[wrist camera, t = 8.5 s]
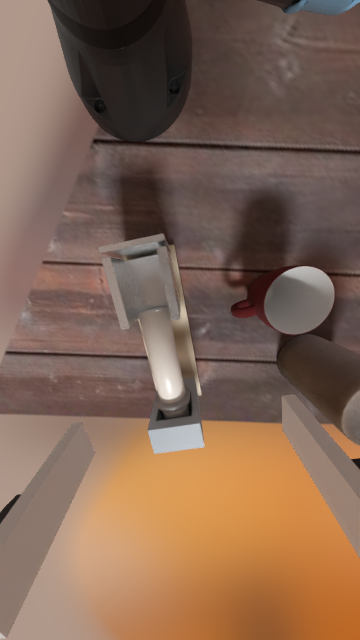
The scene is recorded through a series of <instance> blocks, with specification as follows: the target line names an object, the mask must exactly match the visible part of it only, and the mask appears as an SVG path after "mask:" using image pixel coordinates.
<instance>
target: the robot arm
mask: <svg viewBox="0 0 360 640" xmlns="http://www.w3.org/2000/svg"><path fill="white" fill-rule="evenodd" d="M258 1H262V2H265V3H268V4H271V5H275V6H278V7H281V9H282V10H283V12H284V13H286V14H293V13H296V12H298V11H299V10H300V11H307V12H313V13H319V14H324V15H338V14H341V13H343V12H345V11H347V10H349V9H351V8H352V7H353V6H355V5H356V4H357V3H359V2H360V0H258ZM48 2H49V4H50V7H51V10H52V14H53V18H54V21H55V25H56V29H57V32H58V36H59V39H60V43H61V47H62V50H63V54H64V58H65V61H66V65H67V68H68V72H69V75H70V77H71V80H72V82H73V85H74V87H75V89H76V91H77V93H78V95H79V97H80V98H81V100H82V102H83V104H84V105H85V107H86V109H87V110H88V112H89V114H90V115H91V116H92V118H93V119H94V120H95V121H96V123H97V124H98V125H99V126H100V127H101V128H103V129H104V130H105V131H106V132H108V133H109V134H111V135H113V136H114V137H117V138H119V139H122V140H125V141H131V142H140V141H146V140H150V139H152V138H155V137H157V136H159V135H160V134H162V133H163V132H165V131H166V130H167V129H168V128H169V127H170V126H171V125H172V124H173V123H174V121H175V120H176V119H177V117H178V116H179V114H180V112H181V111H182V109H183V106H184V104H185V102H186V99H187V96H188V92H189V88H190V82H191V70H192V37H191V28H190V23H189V18H188V13H187V9H186V4H185V0H48ZM282 426H283V432H284V433H285V435H286V436H287V438H288V440H289V442H290V443H291V445H292V446H293V448H294V450H295V451H296V453H297V455H298V456H299V458H300V460H301V461H302V463H303V465H304V466H305V468H306V470H307V471H308V473H309V474H310V476H311V478H312V480H313V481H314V483H315V484H316V486H317V488H318V489H319V491H320V493H321V495H322V496H323V498H324V499H325V501H326V503H327V505H328V506H329V508H330V510H331V511H332V513H333V515H334V516H335V517H336V519H337V521H338V523H339V524H340V526H341V528H342V529H343V531H344V533H345V534H346V536H347V538H348V539H349V541H350V543H351V544H352V546H353V548H354V549H355V551H356V553H357V554H358V556H359V558H360V458H359V459H350V458H349V457H348V456H347V454H346V453H345V452H344V451H343V450H342V449H341V448H340V446H339V445H338V444H337V443H336V442H335V441H334V440H333V438H332V437H331V436H330V435H329V434H328V433H327V431H326V430H325V429H324V428H323V427H322V426H321V424H320V423H319V422H318V421H317V420H316V419H315V417H314V416H313V415H312V414H311V413H310V412H309V411H308V409H307V408H306V407H305V406H304V405H303V404H302V402H301V401H300V400H299V399H298V398H297V397H296V395H295V394H293V395H285V396H282ZM94 454H95V451H94V448H93V446H92V444H91V441H90V439H89V437H88V434H87V432H86V430H85V427H84V425H83V423H75V424H71V426H70V427H69V429H68V430H67V431H66V433H65V434H64V436H63V437H62V438H61V440H60V441H59V443H58V444H57V445H56V447H55V448H54V450H53V451H52V452H51V454H50V455H49V457H48V458H47V459H46V461H45V462H44V464H43V465H42V466H41V468H40V469H39V471H38V472H37V474H36V475H35V476H34V478H33V479H32V480H31V482H30V483H29V485H28V486H27V487H26V489H25V490H24V492H23V493H22V494H21V495H16V496H15V497H14V499H13V500H11V501H10V502H9V504H7V505H6V507H4V509H3V510H2V511H1V512H0V639H3V638H7V636H8V634H9V632H10V630H11V628H12V626H13V624H14V622H15V620H16V617H17V615H18V613H19V611H20V609H21V607H22V605H23V603H24V601H25V599H26V597H27V594H28V592H29V590H30V588H31V586H32V584H33V582H34V580H35V578H36V575H37V574H38V571H39V569H40V567H41V565H42V563H43V561H44V559H45V557H46V555H47V553H48V550H49V548H50V546H51V544H52V542H53V540H54V538H55V536H56V533H57V532H58V530H59V527H60V525H61V523H62V521H63V519H64V517H65V515H66V513H67V511H68V509H69V507H70V504H71V502H72V500H73V498H74V496H75V493H76V492H77V490H78V488H79V485H80V483H81V481H82V479H83V477H84V475H85V473H86V471H87V469H88V467H89V465H90V463H91V460H92V458H93V456H94Z"/></svg>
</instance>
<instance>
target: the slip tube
mask: <svg viewBox="0 0 360 640" xmlns="http://www.w3.org/2000/svg"><path fill="white" fill-rule="evenodd" d="M138 316H139V320H140V324H141V328H142V332H143V336H144V340H145V344H146V348H147V352H148V356H149V360H150V364H151V368H152V372H153V375H154V379H155V383H156V387H157V391H158V392H157V394H156V396H155V400H156V404H157V407H158V409H159V410H161V411H162V412H163V415H164V419H165V420H168V419H175V418H181V417H188V416H190V411H189V407H188V403H189V401H190V392H189V388H188V387H187V386H186V385H184V383H183V378H182V373H181V368H180V363H179V359H178V354H177V349H176V344H175V339H174V335H173V330H172V325H171V320H170V316H169V311H168V307H156V308H151V309H147V310H144V311H141V312H139V313H138Z"/></svg>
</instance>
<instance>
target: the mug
mask: <svg viewBox="0 0 360 640" xmlns="http://www.w3.org/2000/svg"><path fill="white" fill-rule="evenodd" d="M334 300H335V289H334V285H333V282H332V280H331V279H330V277H329V276H328V275H327V274H326V273H325V272H324V271H322V270H321V269H319V268H316V267H313V266H306V265H301V266H287V267H282V268H279V269H276V270H273V271H271V272H268V273H266V274H263V275H261V276H260V277H258V278H257V279H256V280H255V281H254V282H253V283H252V284H251V286H250V288H249V291H248V296H247V299H246V300H243V301H240V302H237V303H235V304H234V305H232V307H231V313H232V315H233V316H234V317H237V318H247V317H251V316H254V315H257V316H258V317H259V319H260V320H262V321H263V322H264V323H265V324H266V325H268V326H269V327H271V328H273V329H275V330H276V331H278V332H281V333H283V334H288V335H300V334H304V333H307V332H309V331H311V330H313V329H315V328H317V327H318V326H319V325H320V324H322V323H323V322H324V320H325V319H326V318H327V317H328V315H329V314H330V312H331V310H332V307H333V305H334Z"/></svg>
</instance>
